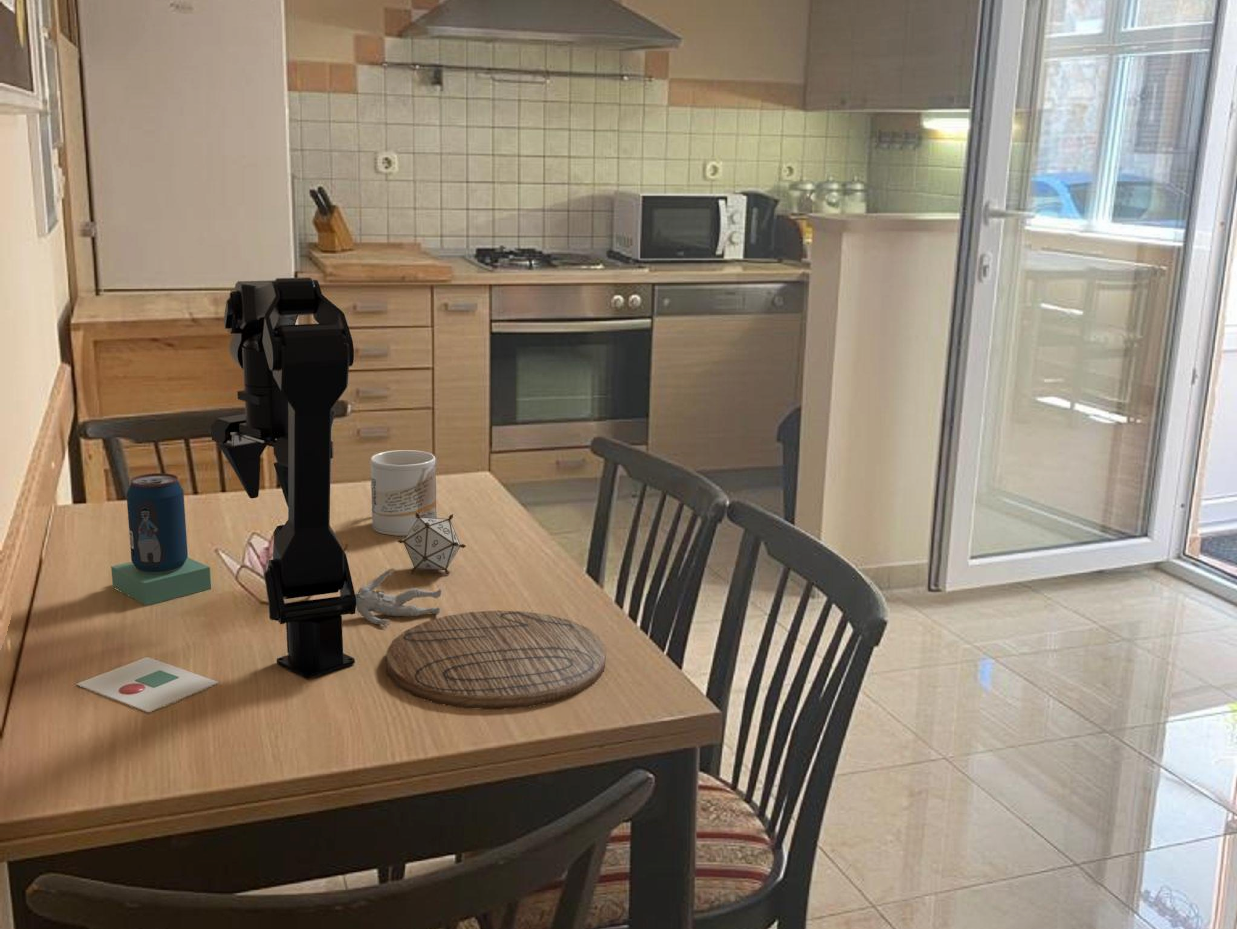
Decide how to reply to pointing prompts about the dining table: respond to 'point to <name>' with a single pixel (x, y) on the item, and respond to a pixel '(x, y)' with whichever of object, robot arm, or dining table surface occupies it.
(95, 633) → the dining table surface
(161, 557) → the soda can
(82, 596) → the dining table surface
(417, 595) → the soldier figure
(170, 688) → the page
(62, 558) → the dining table surface
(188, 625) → the dining table surface
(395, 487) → the mug
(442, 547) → the game die
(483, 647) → the trivet
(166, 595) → the base brick
